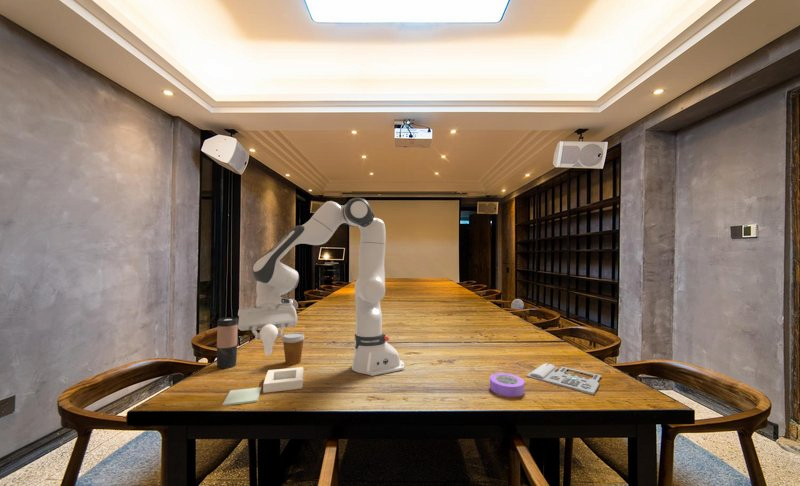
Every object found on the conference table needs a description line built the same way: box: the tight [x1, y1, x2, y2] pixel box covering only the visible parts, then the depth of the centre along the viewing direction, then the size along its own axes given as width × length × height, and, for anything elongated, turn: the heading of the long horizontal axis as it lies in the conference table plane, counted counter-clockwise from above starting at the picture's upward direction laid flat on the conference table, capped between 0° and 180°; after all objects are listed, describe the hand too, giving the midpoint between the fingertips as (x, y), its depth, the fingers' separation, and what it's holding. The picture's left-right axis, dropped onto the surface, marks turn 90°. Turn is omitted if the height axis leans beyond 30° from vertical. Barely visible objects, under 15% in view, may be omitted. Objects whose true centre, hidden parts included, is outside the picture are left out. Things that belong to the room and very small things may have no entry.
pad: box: [222, 386, 263, 407], centre depth 104 cm, size 10×10×1 cm
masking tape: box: [489, 372, 525, 398], centre depth 111 cm, size 12×12×4 cm
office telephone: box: [526, 362, 603, 396], centre depth 122 cm, size 23×3×20 cm
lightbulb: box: [259, 324, 279, 356], centre depth 111 cm, size 6×6×11 cm
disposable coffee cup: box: [281, 332, 306, 366], centre depth 137 cm, size 10×10×12 cm
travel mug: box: [216, 316, 239, 370], centre depth 132 cm, size 8×8×20 cm
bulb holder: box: [262, 366, 304, 394], centre depth 115 cm, size 13×13×3 cm
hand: (268, 337), depth 111 cm, fingers closed on lightbulb, 6 cm apart
